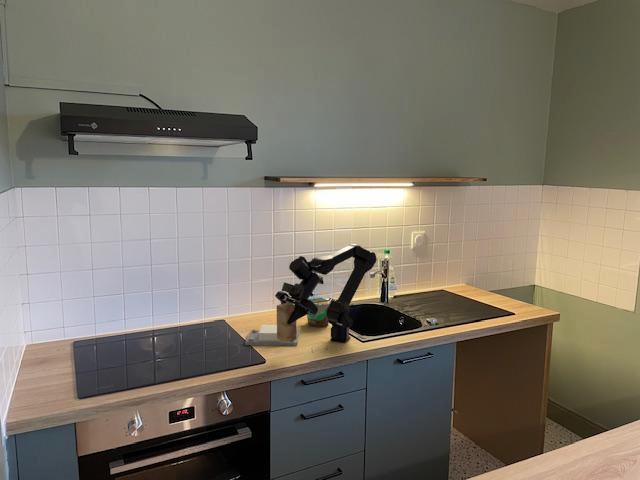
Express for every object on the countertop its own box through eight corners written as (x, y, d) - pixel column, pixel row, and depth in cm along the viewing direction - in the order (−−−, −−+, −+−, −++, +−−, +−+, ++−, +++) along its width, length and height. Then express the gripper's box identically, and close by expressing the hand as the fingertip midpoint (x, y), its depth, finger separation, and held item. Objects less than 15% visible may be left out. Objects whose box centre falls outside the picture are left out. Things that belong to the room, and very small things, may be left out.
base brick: (299, 333, 206) (299, 323, 205) (297, 345, 192) (297, 335, 191) (250, 332, 206) (250, 323, 205) (245, 345, 192) (245, 334, 191)
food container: (299, 325, 216) (299, 303, 214) (306, 321, 221) (306, 299, 220) (324, 329, 210) (324, 306, 208) (331, 325, 215) (331, 303, 214)
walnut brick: (287, 335, 183) (287, 302, 181) (296, 339, 179) (296, 305, 177) (277, 338, 180) (276, 305, 178) (285, 342, 176) (285, 308, 174)
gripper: (278, 269, 185) (254, 304, 180) (311, 278, 172) (287, 315, 166) (295, 286, 192) (272, 320, 186) (328, 296, 178) (305, 333, 172)
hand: (283, 322), depth 177 cm, fingers closed on walnut brick, 5 cm apart
